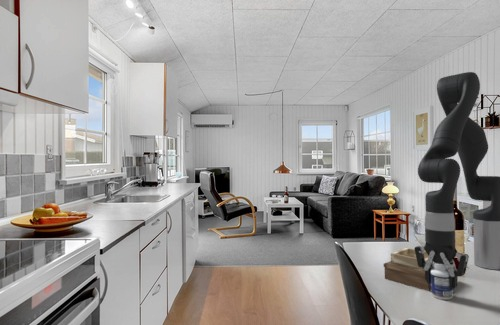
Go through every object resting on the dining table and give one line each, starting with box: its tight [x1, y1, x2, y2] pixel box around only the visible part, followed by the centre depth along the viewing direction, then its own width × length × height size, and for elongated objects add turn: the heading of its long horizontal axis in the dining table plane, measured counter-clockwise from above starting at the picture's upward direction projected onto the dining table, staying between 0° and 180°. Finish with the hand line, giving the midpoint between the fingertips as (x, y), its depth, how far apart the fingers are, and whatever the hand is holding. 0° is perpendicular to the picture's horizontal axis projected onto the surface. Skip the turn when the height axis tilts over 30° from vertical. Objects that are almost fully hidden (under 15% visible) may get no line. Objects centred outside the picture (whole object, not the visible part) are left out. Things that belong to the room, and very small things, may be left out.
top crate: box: [390, 247, 434, 272], centre depth 106 cm, size 11×11×4 cm
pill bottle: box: [430, 262, 454, 301], centre depth 93 cm, size 5×5×10 cm
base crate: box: [383, 260, 431, 292], centre depth 106 cm, size 14×14×5 cm
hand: (440, 285), depth 93 cm, fingers closed on pill bottle, 5 cm apart
